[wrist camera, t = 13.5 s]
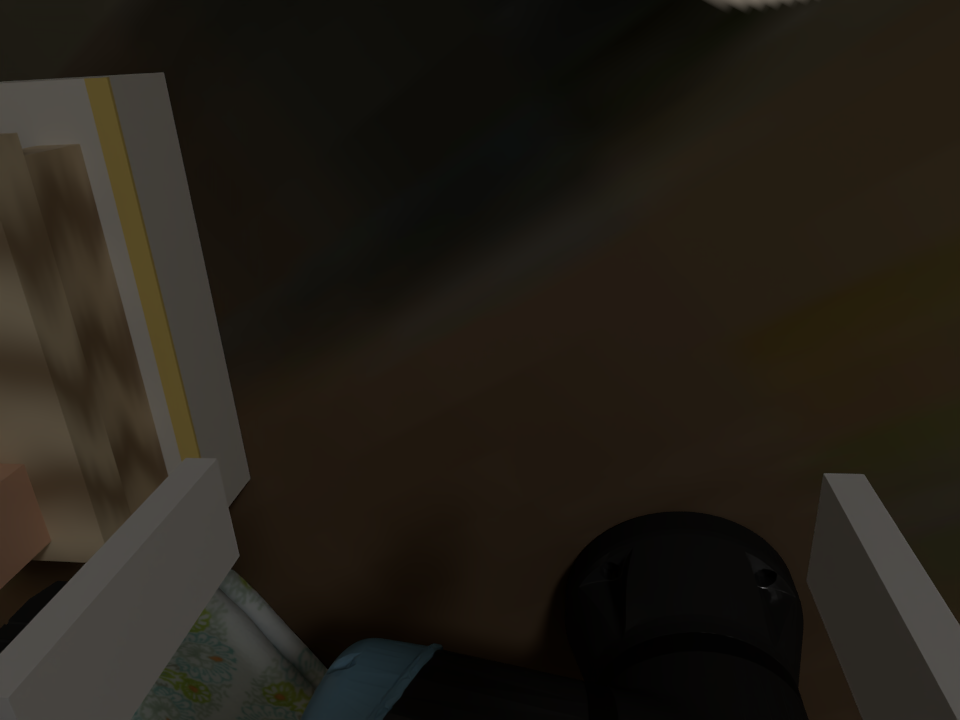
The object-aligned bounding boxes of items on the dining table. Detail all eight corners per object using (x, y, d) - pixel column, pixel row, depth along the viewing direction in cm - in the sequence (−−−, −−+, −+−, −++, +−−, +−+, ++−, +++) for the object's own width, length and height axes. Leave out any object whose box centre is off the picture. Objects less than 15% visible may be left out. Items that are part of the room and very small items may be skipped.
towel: (220, 543, 53) (186, 591, 49) (394, 729, 59) (378, 789, 54) (66, 631, 59) (22, 681, 55) (237, 793, 65) (210, 851, 60)
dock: (250, 478, 50) (215, 524, 45) (40, 472, 52) (-14, 515, 47) (163, 72, 40) (106, 77, 35) (-95, 87, 42) (-181, 93, 37)
